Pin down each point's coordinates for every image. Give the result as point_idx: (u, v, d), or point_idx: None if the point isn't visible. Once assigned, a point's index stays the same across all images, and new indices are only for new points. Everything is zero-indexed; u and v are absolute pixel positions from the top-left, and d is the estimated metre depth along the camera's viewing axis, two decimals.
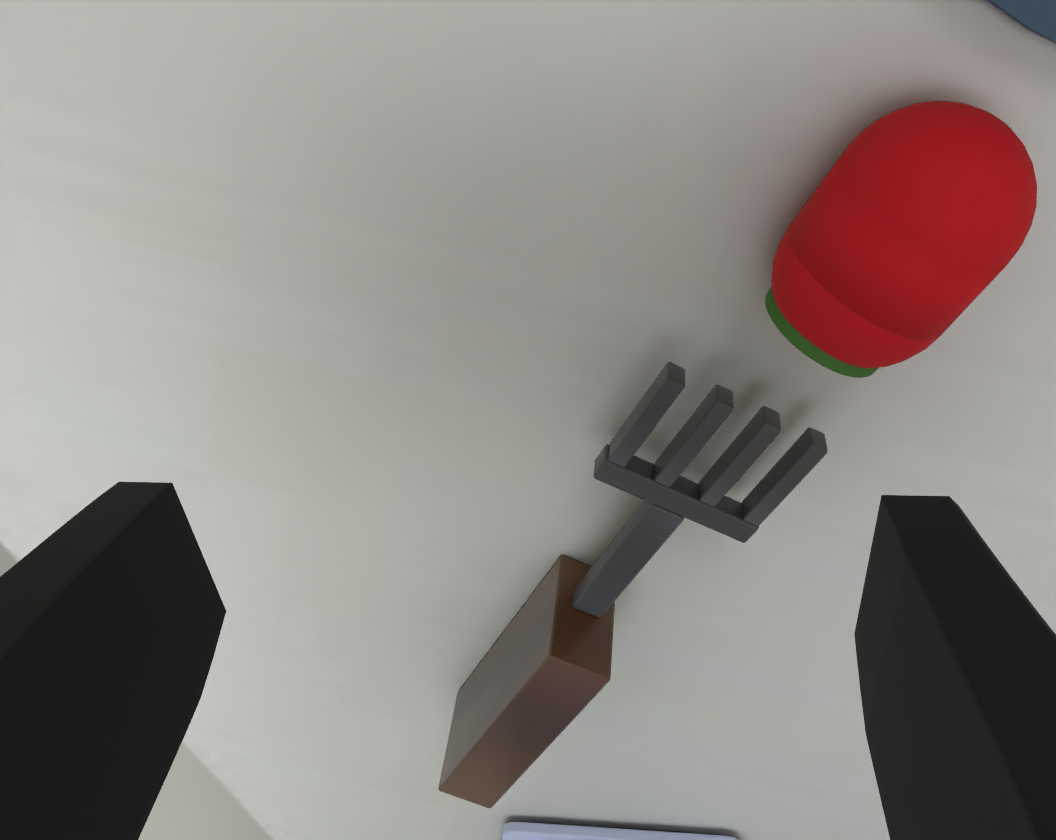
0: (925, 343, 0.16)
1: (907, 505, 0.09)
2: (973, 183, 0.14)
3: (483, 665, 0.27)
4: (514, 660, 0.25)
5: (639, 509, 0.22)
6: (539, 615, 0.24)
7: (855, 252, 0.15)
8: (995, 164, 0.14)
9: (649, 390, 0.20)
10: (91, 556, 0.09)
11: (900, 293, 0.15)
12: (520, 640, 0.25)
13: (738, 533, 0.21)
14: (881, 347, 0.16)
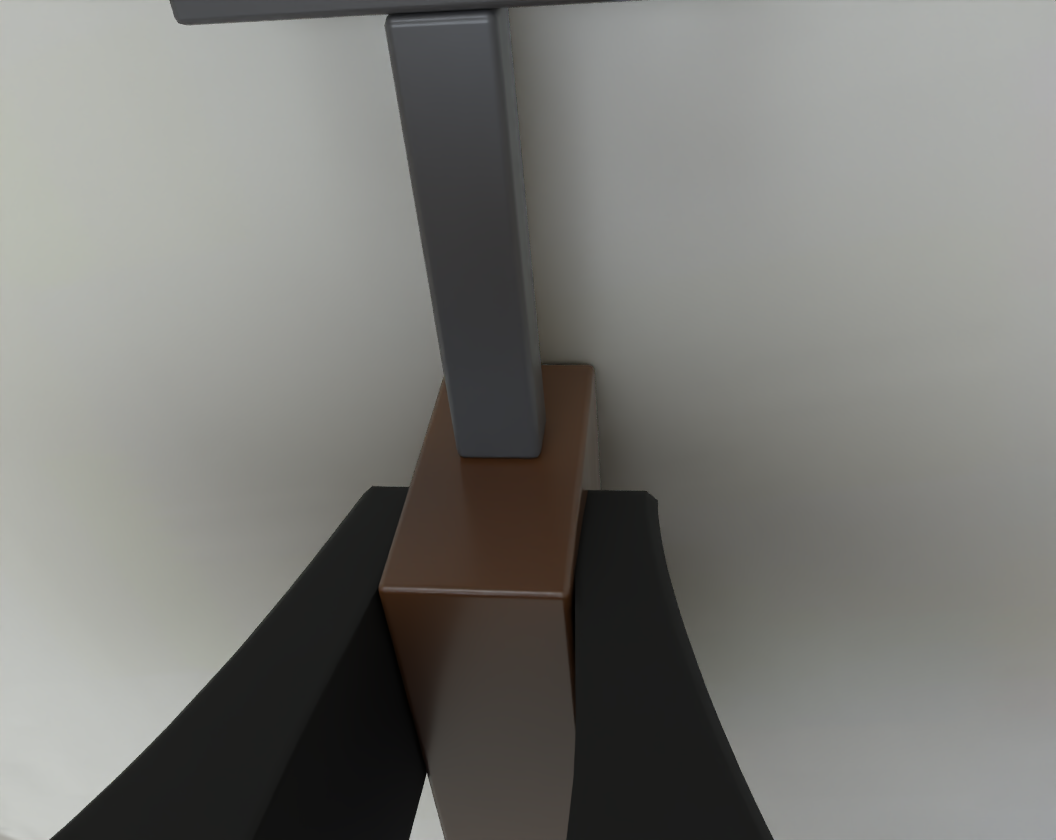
0: None
1: (604, 499, 0.09)
2: None
3: None
4: None
5: None
6: None
7: None
8: None
9: None
10: (382, 565, 0.08)
11: None
12: None
13: None
14: None
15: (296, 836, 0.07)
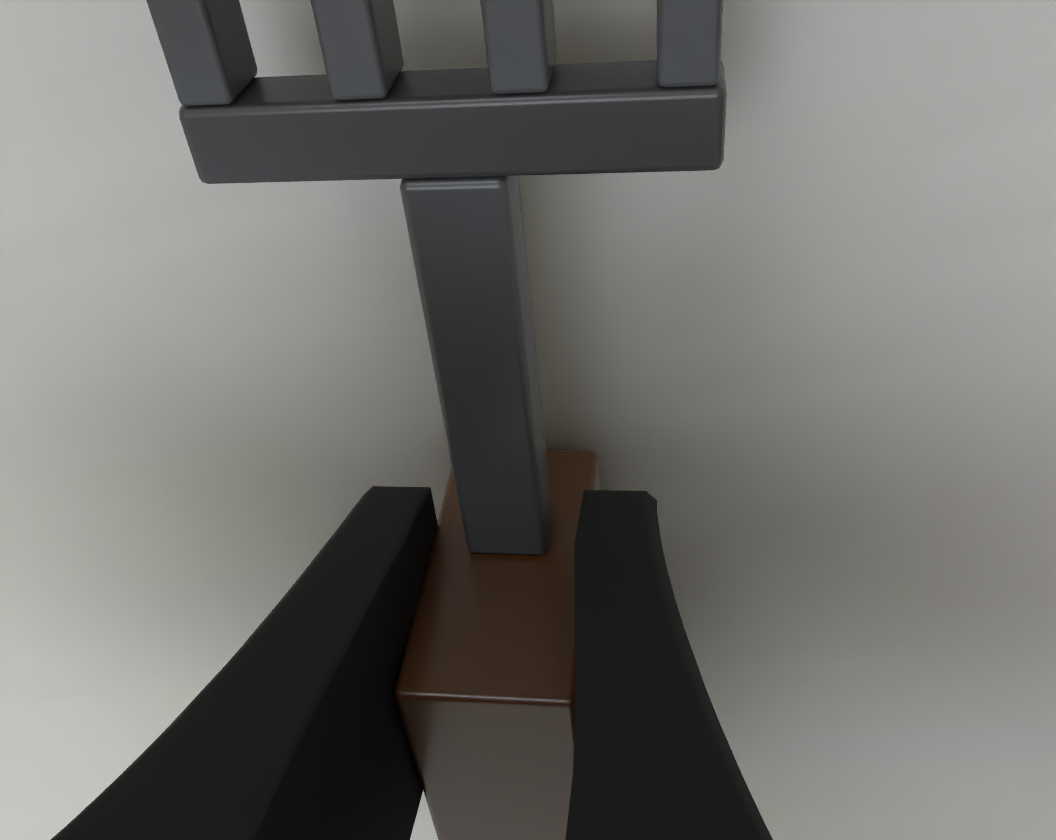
0: None
1: (603, 499, 0.09)
2: None
3: None
4: None
5: None
6: None
7: None
8: None
9: None
10: (383, 565, 0.08)
11: None
12: None
13: (677, 144, 0.07)
14: None
15: (297, 836, 0.07)
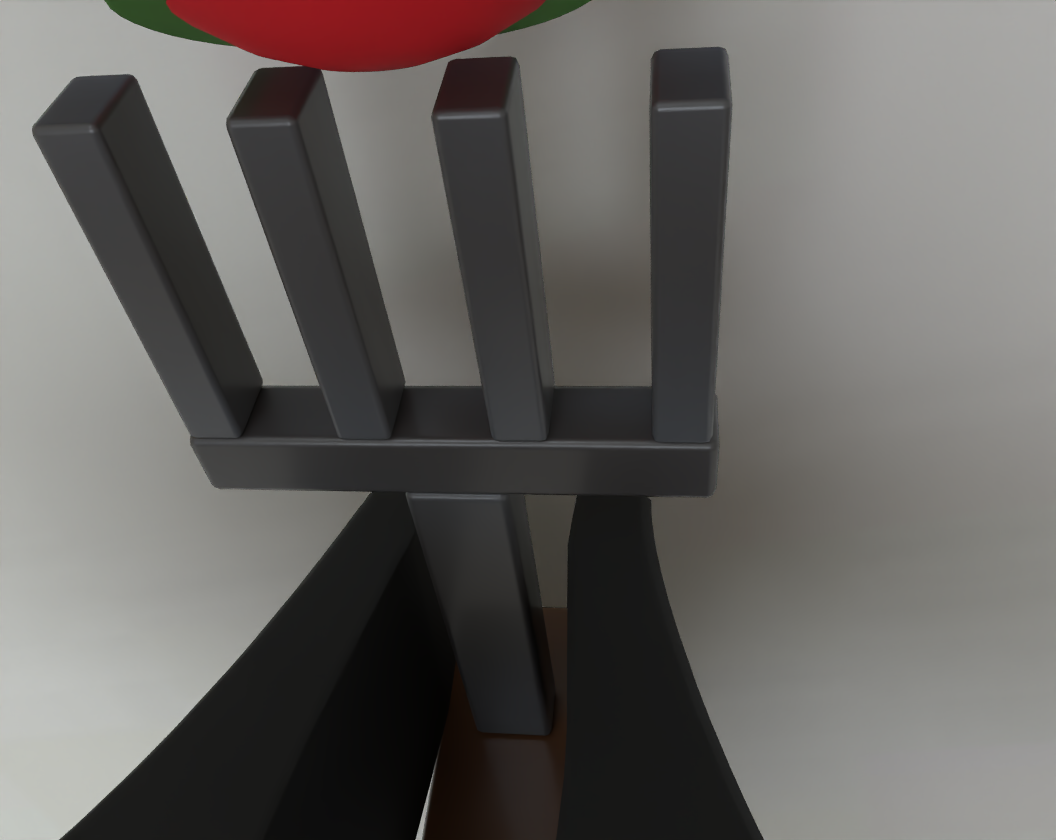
0: None
1: (598, 499, 0.09)
2: None
3: None
4: None
5: None
6: None
7: None
8: None
9: None
10: (389, 565, 0.08)
11: None
12: None
13: (673, 481, 0.07)
14: None
15: (305, 837, 0.07)
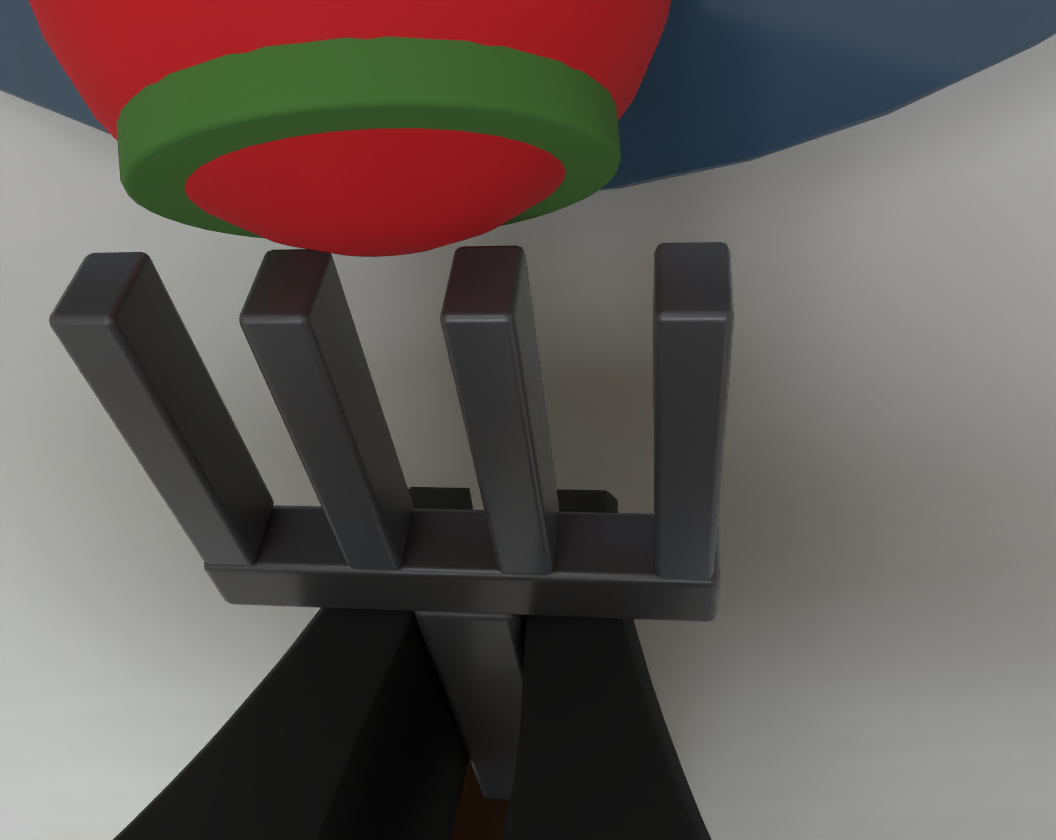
0: None
1: (563, 499, 0.09)
2: None
3: None
4: None
5: None
6: None
7: None
8: None
9: None
10: None
11: None
12: None
13: (674, 608, 0.07)
14: None
15: None
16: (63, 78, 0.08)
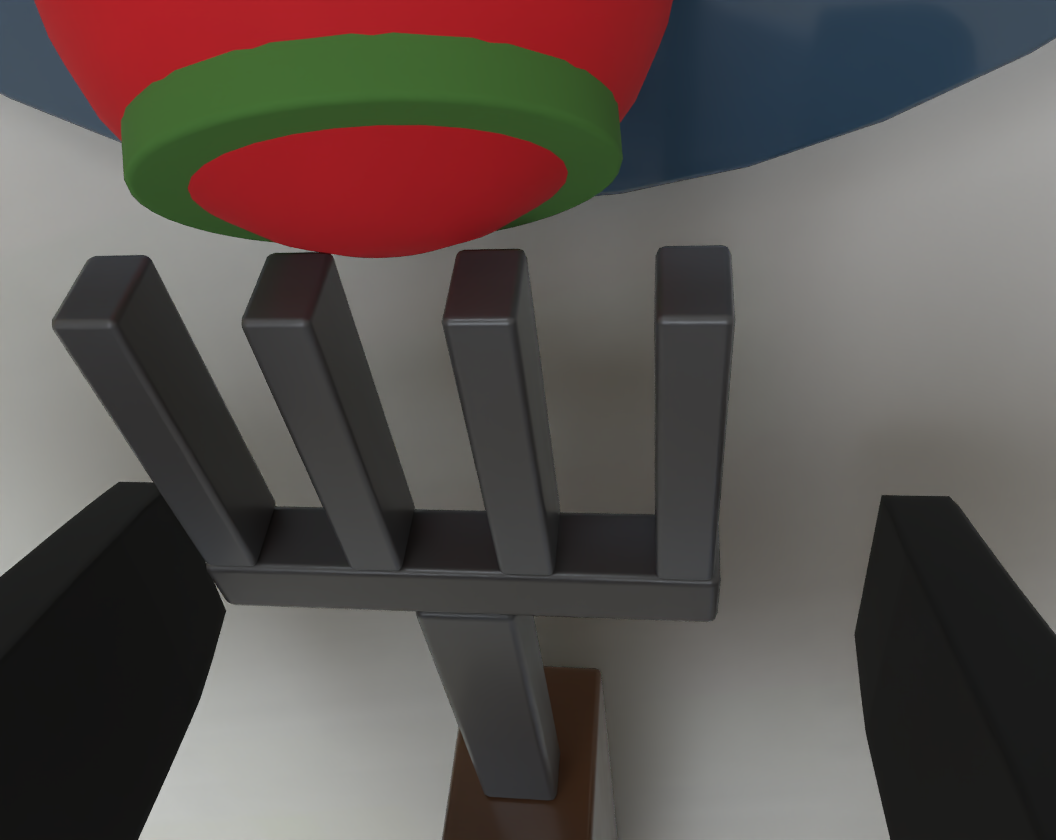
0: None
1: (907, 505, 0.09)
2: None
3: None
4: None
5: None
6: None
7: None
8: None
9: None
10: (90, 556, 0.09)
11: None
12: None
13: (675, 609, 0.07)
14: None
15: None
16: (69, 85, 0.08)
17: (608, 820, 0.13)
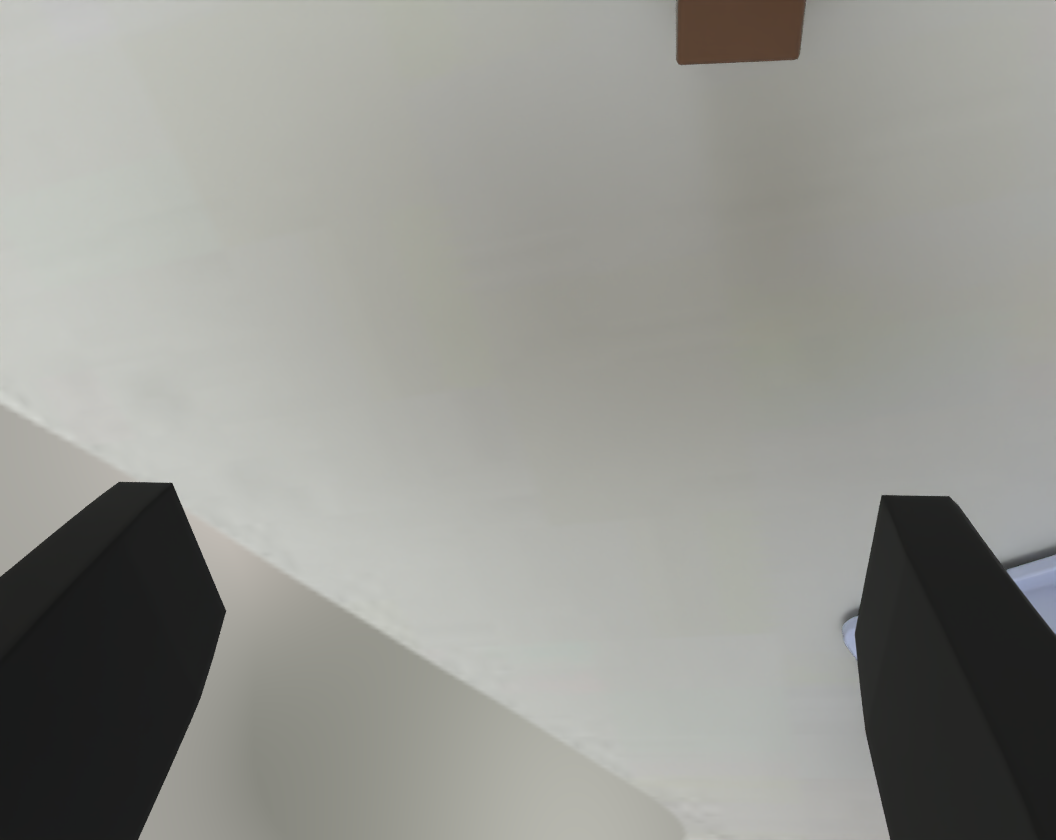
0: None
1: (907, 505, 0.09)
2: None
3: None
4: None
5: None
6: None
7: None
8: None
9: None
10: (90, 556, 0.09)
11: None
12: None
13: None
14: None
15: None
16: None
17: None
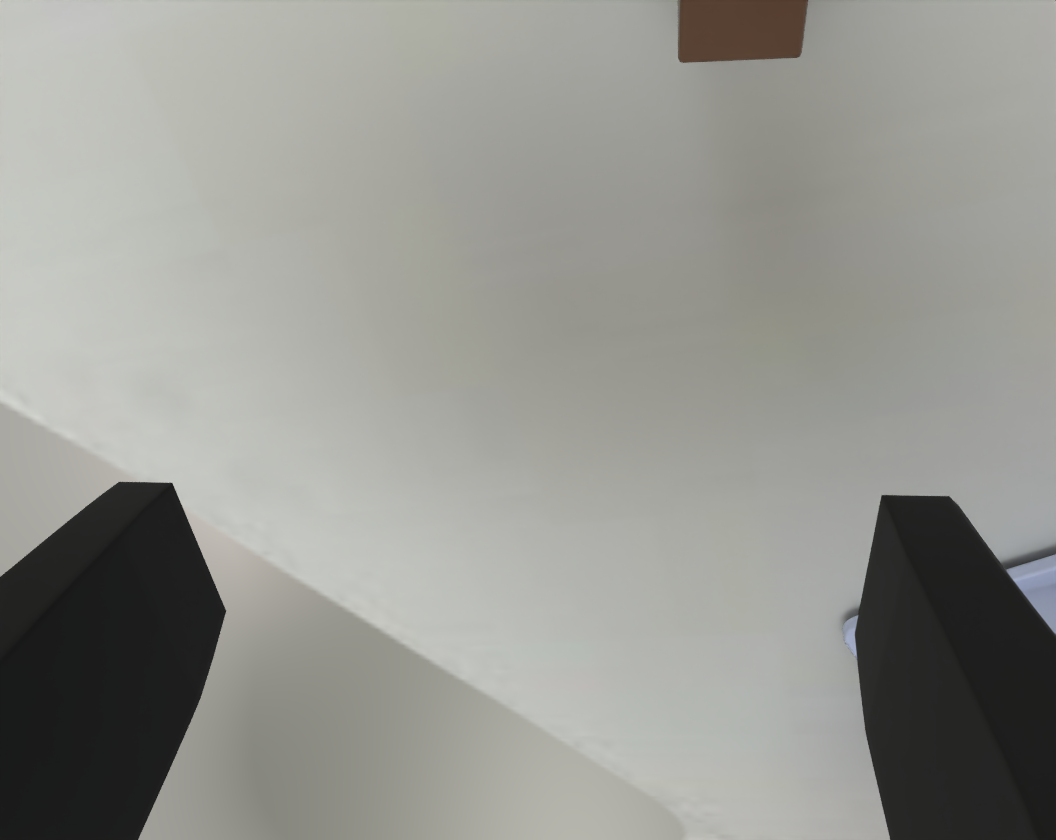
0: None
1: (907, 505, 0.09)
2: None
3: None
4: None
5: None
6: None
7: None
8: None
9: None
10: (91, 556, 0.09)
11: None
12: None
13: None
14: None
15: None
16: None
17: None
